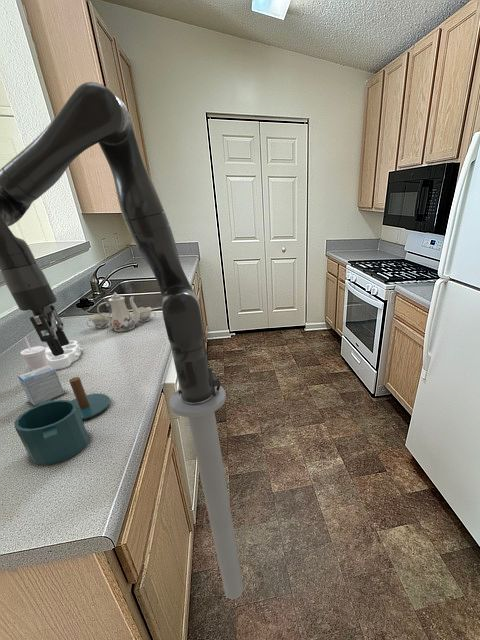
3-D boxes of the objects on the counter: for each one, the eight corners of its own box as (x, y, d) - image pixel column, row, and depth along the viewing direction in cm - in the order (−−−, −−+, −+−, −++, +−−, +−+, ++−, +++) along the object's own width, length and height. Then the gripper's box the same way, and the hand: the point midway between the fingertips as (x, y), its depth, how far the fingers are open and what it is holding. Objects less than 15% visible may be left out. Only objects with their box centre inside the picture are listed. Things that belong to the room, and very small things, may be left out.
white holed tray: (46, 352, 126) (89, 346, 130) (28, 373, 111) (78, 366, 115) (43, 343, 124) (87, 338, 128) (24, 364, 109) (75, 357, 113)
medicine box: (58, 389, 101) (48, 364, 97) (65, 393, 99) (55, 368, 95) (28, 401, 96) (16, 375, 92) (34, 406, 93) (22, 380, 89)
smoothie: (39, 372, 111) (22, 334, 105) (59, 371, 112) (44, 333, 105) (27, 382, 105) (9, 342, 99) (48, 381, 106) (31, 341, 100)
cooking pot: (83, 420, 87) (71, 390, 83) (94, 455, 75) (81, 422, 71) (30, 438, 81) (14, 406, 77) (33, 480, 69) (14, 445, 65)
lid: (106, 392, 99) (96, 363, 95) (115, 411, 91) (105, 380, 86) (57, 407, 93) (44, 377, 88) (61, 429, 84) (48, 397, 80)
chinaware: (154, 318, 162) (146, 284, 156) (160, 325, 149) (152, 288, 143) (89, 330, 150) (77, 293, 143) (89, 339, 136) (76, 299, 130)
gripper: (41, 286, 72) (75, 353, 79) (53, 279, 84) (81, 338, 91) (0, 295, 69) (39, 363, 76) (18, 286, 81) (50, 346, 88)
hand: (62, 349), depth 84 cm, fingers open, 8 cm apart
